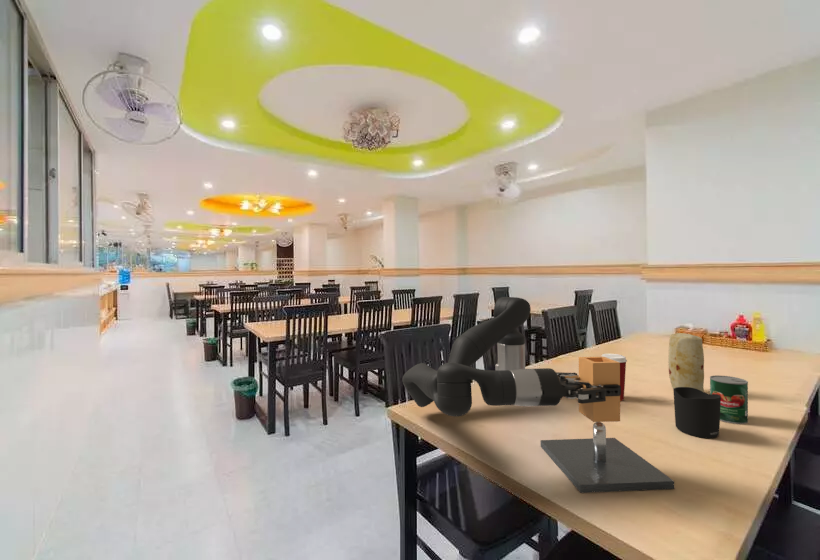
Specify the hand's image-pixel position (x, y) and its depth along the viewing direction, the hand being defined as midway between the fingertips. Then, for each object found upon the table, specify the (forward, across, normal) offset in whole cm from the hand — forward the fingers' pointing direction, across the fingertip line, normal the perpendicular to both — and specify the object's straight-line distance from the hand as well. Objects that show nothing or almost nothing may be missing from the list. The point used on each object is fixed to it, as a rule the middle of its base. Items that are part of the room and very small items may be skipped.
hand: (610, 385), depth 74 cm
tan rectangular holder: (-3, 0, -6) cm, 7 cm away
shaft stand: (-2, 0, -17) cm, 17 cm away
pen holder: (+32, -15, -17) cm, 39 cm away
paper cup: (+26, -40, -17) cm, 51 cm away
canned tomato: (+47, -22, -17) cm, 55 cm away
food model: (+53, -44, -17) cm, 71 cm away
